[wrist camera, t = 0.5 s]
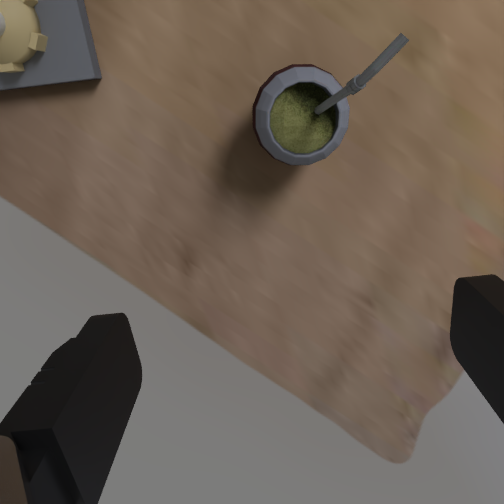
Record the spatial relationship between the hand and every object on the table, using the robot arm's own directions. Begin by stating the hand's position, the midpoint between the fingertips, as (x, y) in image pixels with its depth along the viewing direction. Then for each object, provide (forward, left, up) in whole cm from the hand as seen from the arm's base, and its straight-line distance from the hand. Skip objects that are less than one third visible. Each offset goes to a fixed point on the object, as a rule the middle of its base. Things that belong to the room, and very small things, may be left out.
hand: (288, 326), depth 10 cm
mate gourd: (-3, +3, -28) cm, 28 cm away
